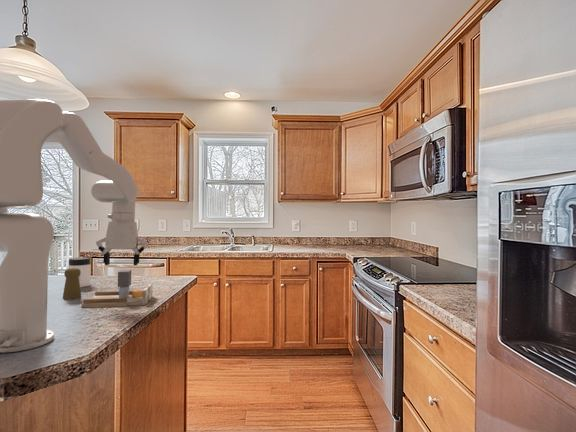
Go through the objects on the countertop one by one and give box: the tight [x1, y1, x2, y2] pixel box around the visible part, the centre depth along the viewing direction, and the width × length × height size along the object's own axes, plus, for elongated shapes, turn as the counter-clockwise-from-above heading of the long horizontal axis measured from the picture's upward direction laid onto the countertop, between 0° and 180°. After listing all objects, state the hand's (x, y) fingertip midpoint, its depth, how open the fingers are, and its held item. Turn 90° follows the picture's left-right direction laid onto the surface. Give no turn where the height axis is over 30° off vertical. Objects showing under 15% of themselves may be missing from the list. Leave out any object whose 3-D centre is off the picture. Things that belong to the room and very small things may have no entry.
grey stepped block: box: [117, 269, 132, 298], centre depth 122 cm, size 7×4×9 cm, turn 11°
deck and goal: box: [81, 283, 153, 308], centre depth 122 cm, size 14×20×5 cm
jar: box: [67, 256, 92, 288], centre depth 146 cm, size 9×8×12 cm
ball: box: [131, 289, 143, 298], centre depth 123 cm, size 4×4×4 cm
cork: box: [62, 268, 82, 300], centre depth 126 cm, size 6×6×11 cm
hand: (121, 265), depth 121 cm, fingers open, 9 cm apart
